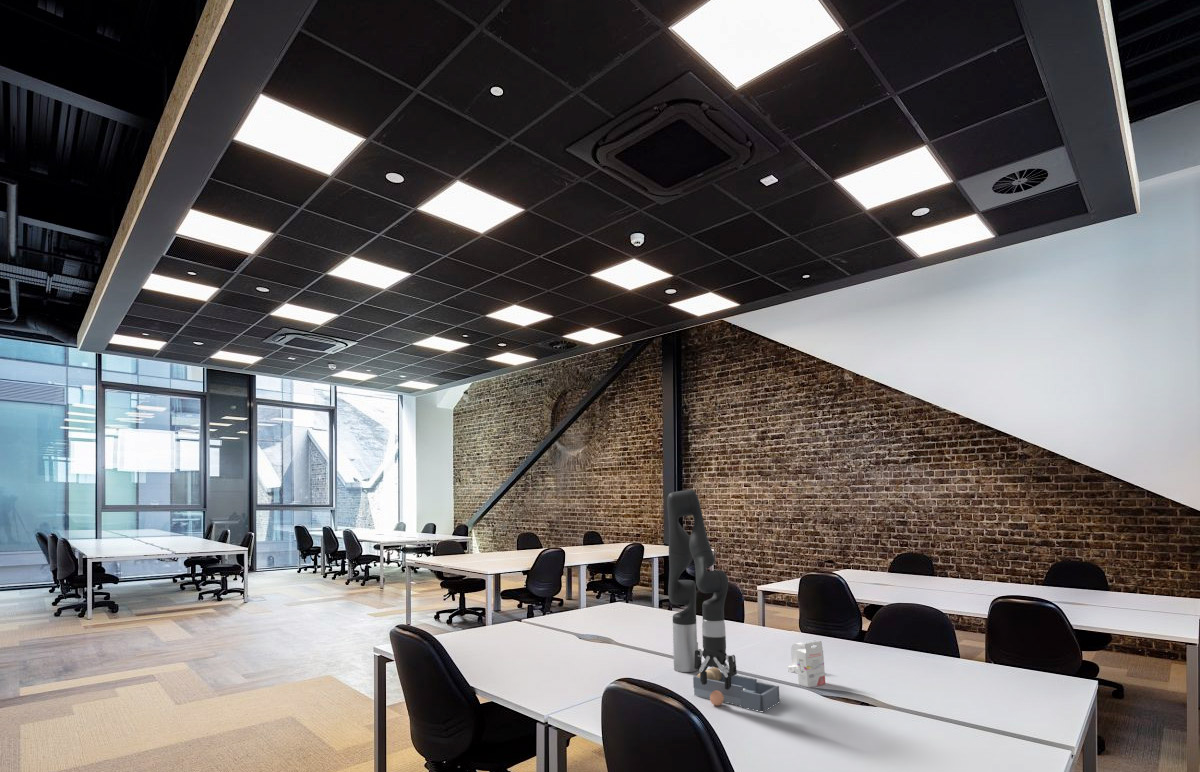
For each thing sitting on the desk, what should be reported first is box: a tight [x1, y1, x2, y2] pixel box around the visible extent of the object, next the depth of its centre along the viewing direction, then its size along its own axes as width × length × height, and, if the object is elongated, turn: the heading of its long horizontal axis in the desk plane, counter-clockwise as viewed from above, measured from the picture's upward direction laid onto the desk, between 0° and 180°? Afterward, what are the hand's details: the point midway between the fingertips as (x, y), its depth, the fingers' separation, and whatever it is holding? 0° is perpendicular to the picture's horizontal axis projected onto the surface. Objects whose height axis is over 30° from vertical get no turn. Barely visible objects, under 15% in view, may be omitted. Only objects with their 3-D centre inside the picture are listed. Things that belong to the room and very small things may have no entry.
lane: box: [692, 671, 781, 712], centre depth 209 cm, size 12×26×6 cm, turn 50°
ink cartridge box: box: [796, 640, 826, 689], centre depth 225 cm, size 9×5×15 cm, turn 118°
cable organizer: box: [787, 642, 806, 675], centre depth 241 cm, size 5×10×10 cm, turn 132°
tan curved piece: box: [696, 667, 722, 681], centre depth 215 cm, size 9×5×5 cm, turn 140°
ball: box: [709, 691, 724, 707], centre depth 203 cm, size 4×4×4 cm
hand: (715, 686), depth 203 cm, fingers open, 8 cm apart
